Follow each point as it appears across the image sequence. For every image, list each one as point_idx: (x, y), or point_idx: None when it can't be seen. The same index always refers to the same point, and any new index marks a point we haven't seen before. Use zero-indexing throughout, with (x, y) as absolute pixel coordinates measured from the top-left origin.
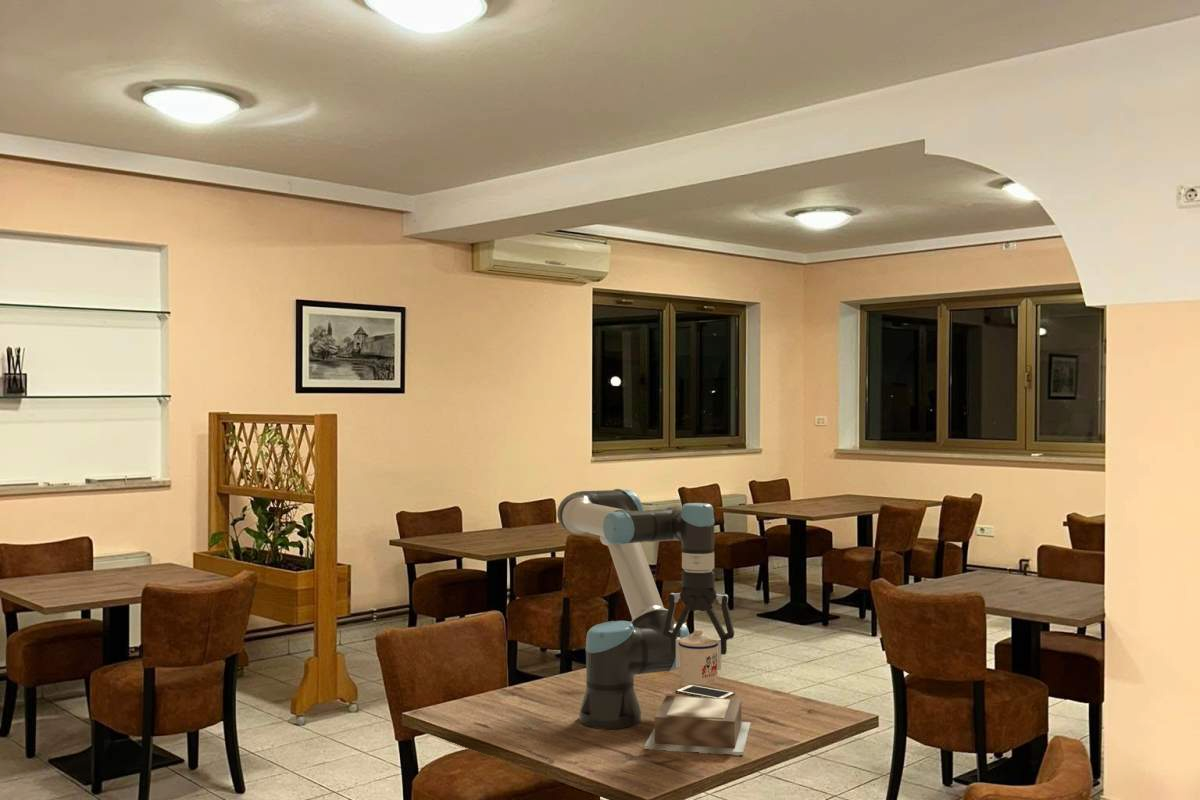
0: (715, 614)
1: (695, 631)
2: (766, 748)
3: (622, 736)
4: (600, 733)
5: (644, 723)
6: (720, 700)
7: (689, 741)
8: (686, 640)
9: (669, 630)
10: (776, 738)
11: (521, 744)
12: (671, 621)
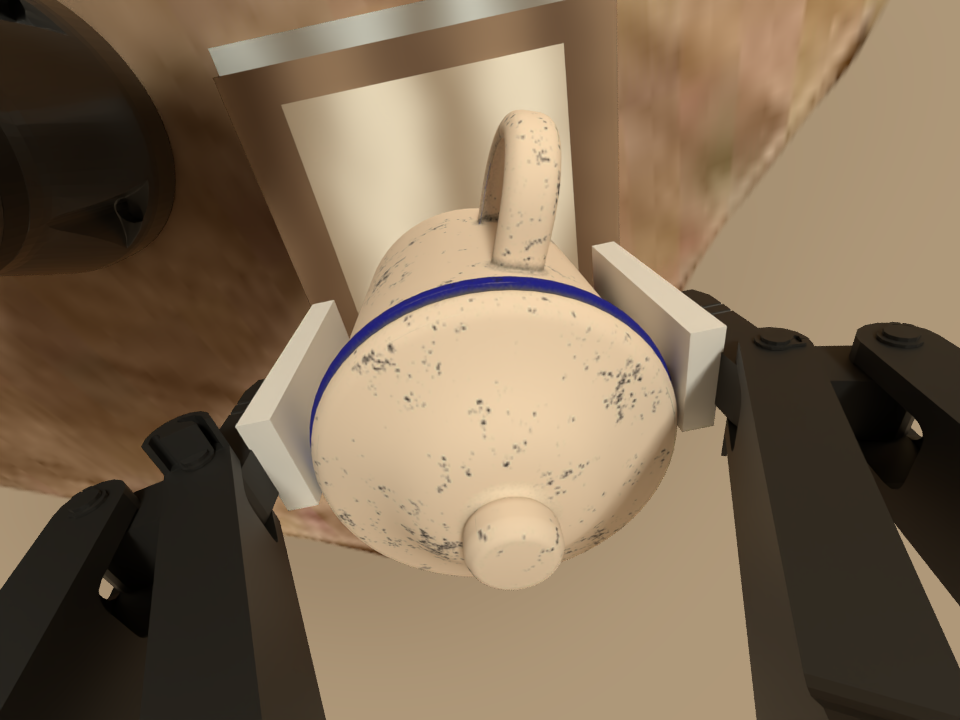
0: (926, 677)
1: (497, 584)
2: (675, 235)
3: (222, 301)
4: (139, 301)
5: (186, 123)
6: (519, 85)
7: None
8: (424, 558)
9: (137, 543)
10: (710, 113)
11: (38, 459)
12: (99, 683)
